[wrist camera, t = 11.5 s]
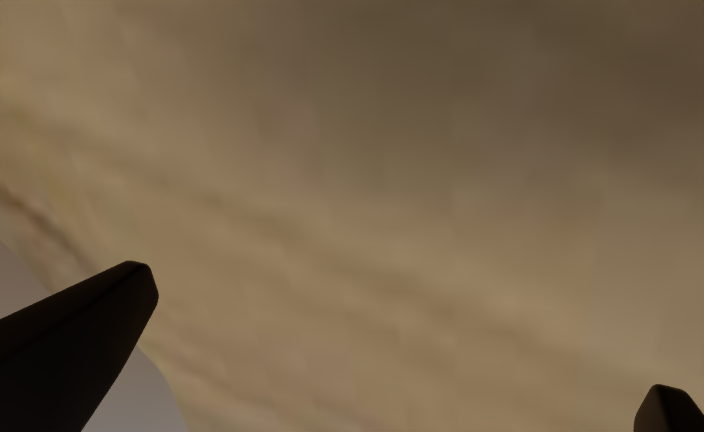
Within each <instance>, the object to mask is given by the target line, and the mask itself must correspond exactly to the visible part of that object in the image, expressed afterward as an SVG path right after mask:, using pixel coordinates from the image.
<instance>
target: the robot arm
mask: <svg viewBox="0 0 704 432" xmlns="http://www.w3.org/2000/svg"><path fill="white" fill-rule="evenodd" d="M158 298H159V294H158V290H157V287H156V284H155V281H154V278H153V274H152V271H151V269H150V267H149V266H148V265H147V264H144V263H140V262H136V261H125V262H123V263H120V264H118V265H116V266H114V267H112V268H110V269H107V270H105V271H103V272H101V273H99V274H97V275H95V276H92V277H90V278H88V279H86V280H84V281H82V282H79V283H77V284H75V285H73V286H71V287H69V288H67V289H64V290H62V291H60V292H58V293H56V294H54V295H51V296H49V297H47V298H45V299H43V300H41V301H39V302H36V303H34V304H32V305H30V306H28V307H26V308H23V309H21V310H19V311H17V312H15V313H13V314H11V315H8V316H6V317H4V318H2V319H0V432H81V431H82V429H83V428H84V426H85V425H86V423H87V422H88V421H89V419H90V418H91V416H92V415H93V413H94V412H95V410H96V409H97V407H98V406H99V404H100V403H101V401H102V400H103V398H104V397H105V395H106V394H107V392H108V391H109V389H110V388H111V386H112V385H113V383H114V382H115V380H116V379H117V377H118V375H119V373H120V372H121V370H122V368H123V367H124V365H125V363H126V362H127V360H128V358H129V356H130V354H131V352H132V351H133V349H134V347H135V345H136V343H137V341H138V339H139V338H140V336H141V334H142V332H143V330H144V328H145V326H146V325H147V323H148V321H149V319H150V317H151V315H152V313H153V311H154V310H155V308H156V306H157V303H158ZM634 432H704V414H703V413H702V412H701V410H700V409H699V408H698V406H697V405H696V404H695V402H694V401H693V400H692V398H691V397H690V396H689V395H688V394H687V393H686V392H685V391H683V390H681V389H678V388H674V387H670V386H665V385H661V384H655V385H653V386H652V387H651V389H650V390H649V392H648V394H647V395H646V397H645V399H644V401H643V403H642V404H641V406H640V408H639V410H638V412H637V414H636V416H635V420H634Z"/></svg>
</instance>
